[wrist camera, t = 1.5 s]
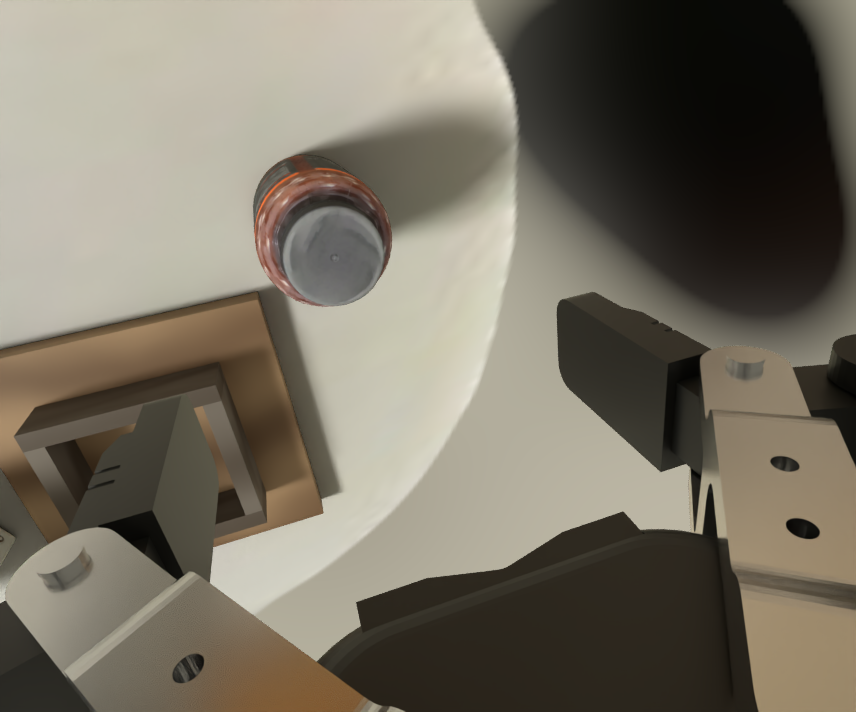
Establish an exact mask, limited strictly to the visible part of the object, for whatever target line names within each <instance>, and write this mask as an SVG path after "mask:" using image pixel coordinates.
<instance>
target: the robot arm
mask: <svg viewBox="0 0 856 712" xmlns="http://www.w3.org/2000/svg"><path fill="white" fill-rule="evenodd" d="M557 333H558V361H559V369H560V373H561V376H562V378H563V381H564V382H565V384H566V386H567V387H568V388H569V389H570V390H571V391H572V392H573V393H574V394H575V395H576V396H577V397H578V398H580V399H581V400H582V401H583V402H584V403H585V404H586V405H587V406H588V407H590V408H591V409H592V410H593V411H594V412H595V413H596V414H597V415H598V416H599V417H601V418H602V419H603V420H604V421H605V422H606V423H607V424H608V425H609V426H610V427H612V428H613V429H614V430H615V431H616V432H617V433H618V434H619V435H620V436H622V437H623V438H624V439H625V440H626V441H627V442H628V443H629V444H630V445H632V446H633V447H634V448H635V449H636V450H637V451H638V452H639V453H640V454H641V455H642V456H644V457H645V458H646V459H647V460H648V461H649V462H650V463H651V464H652V465H654V466H655V467H656V468H657V469H658V470H659V471H660V472H662V471H665V470H668V469H672V468H675V467H678V466H680V465H684V464H687V465H688V466H689V467H690V470H689V480H688V481H689V482H688V489H689V509H690V528H691V529H690V530H691V532H686V531H678V530H665V529H648V530H640V529H638V527H637V526H636V525H635V524H634V523H633V522H632V521H631V519H630V518H629V517H628V516H627V515H626V514H625V513H624V512H620V513H617V514H615V515H612V516H609V517H606V518H603V519H600V520H597V521H594V522H591V523H588V524H585V525H582V526H580V527H576V528H573V529H570V530H568V531H565V532H562V533H561V534H559V535H557V536H556V537H554V538H553V539H551V540H549V541H548V542H546V543H545V544H543V545H541V546H540V547H539V548H537V549H535V550H534V551H532V552H531V553H529V554H527V555H526V556H524V557H523V558H521V559H519V560H518V561H516V562H515V563H513V564H512V565H510V566H508V567H506V568H504V569H500V570H493V571H486V572H477V573H468V574H459V575H451V576H443V577H434V578H426V579H423V580H420V581H418V582H414V583H411V584H409V585H406V586H403V587H400V588H397V589H394V590H391V591H388V592H385V593H382V594H379V595H376V596H373V597H370V598H367V599H364V600H362V601H359V602H356V603H357V609H358V614H359V619H360V623H361V626H360V627H359V628H357V629H356V630H354V631H353V632H351V633H349V634H348V635H347V636H345V637H344V638H343V639H341V640H340V641H339V642H338V643H336V644H335V645H334V646H333V647H332V648H331V649H330V650H328V651H327V652H326V653H325V654H324V655H323V656H322V657H321V658H320V659H319V660H318V661H317V662H316V661H315V660H313V659H312V658H311V657H309V656H308V655H306V654H305V653H304V652H302V651H301V650H300V649H298V648H297V647H296V646H294V645H293V644H292V643H290V642H289V641H288V640H286V639H285V638H283V637H282V636H281V635H279V634H278V633H277V632H275V631H274V630H273V629H271V628H270V627H268V626H267V625H266V624H264V623H263V622H262V621H260V620H259V619H258V618H256V617H255V616H254V615H252V614H251V613H250V612H248V611H247V610H245V609H244V608H243V607H241V606H240V605H239V604H237V603H236V602H235V601H233V600H232V599H230V598H229V597H228V596H226V595H225V594H224V593H222V592H221V591H220V590H218V589H217V588H216V587H214V586H213V585H211V584H210V574H211V564H212V553H213V543H214V533H215V522H216V512H217V502H218V491H219V480H218V473H217V469H216V465H215V461H214V458H213V455H212V453H211V450H210V448H209V445H208V443H207V440H206V438H205V435H204V433H203V430H202V428H201V425H200V423H199V420H198V418H197V415H196V413H195V410H194V408H193V405H192V403H191V401H190V399H189V398H188V396H187V395H186V394H181V395H177V396H173V397H169V398H165V399H161V400H157V401H153V402H149V403H145V404H144V405H143V407H142V409H141V412H140V414H139V417H138V420H137V422H136V425H135V428H134V430H133V432H131V433H127V434H124V435H121V436H120V437H119V438H118V439H117V440H116V441H115V442H114V443H113V444H112V445H111V446H110V447H109V448H108V449H107V450H106V451H105V452H104V453H103V454H102V456H101V458H100V460H99V462H98V465H97V467H96V469H95V471H94V472H95V475H93V476H92V478H91V481H90V483H89V485H88V490H87V491H86V492H85V494H84V496H83V499H82V501H81V503H80V506H79V508H78V510H77V512H76V515H75V517H74V519H73V521H72V524H71V526H70V528H69V531H68V533H67V535H66V536H63V537H61V538H59V539H57V540H55V541H53V542H52V543H50V544H48V545H46V546H45V547H43V548H42V549H40V550H39V551H38V552H36V553H35V554H34V555H32V556H31V557H30V558H29V559H28V560H26V561H25V562H24V563H23V564H22V565H21V566H20V567H19V569H18V570H17V571H16V572H15V573H14V575H13V576H12V578H11V579H10V581H9V583H8V585H7V587H6V592H5V599H6V601H4V602H2V603H0V712H856V334H855V335H849V336H845V337H842V338H840V339H838V340H836V341H835V342H834V344H833V347H832V351H831V356H830V360H829V364H827V365H816V366H803V367H792V366H791V364H790V362H789V361H788V360H787V359H785V358H784V357H782V356H781V355H779V354H777V353H774V352H771V351H769V350H765V349H761V348H756V347H749V346H724V347H718V348H715V349H710V348H708V347H706V346H704V345H702V344H701V343H699V342H697V341H695V340H693V339H691V338H689V337H687V336H686V335H684V334H682V333H680V332H678V331H676V330H674V331H673V330H672V328H670V327H669V326H667V325H665V324H663V323H659V322H658V320H656V319H654V318H652V317H650V316H648V315H646V314H645V313H643V312H639V311H635V310H631V309H627V308H623V307H620V306H619V305H617V304H615V303H613V302H612V301H610V300H608V299H606V298H604V297H602V296H601V295H599V294H597V293H595V292H590V293H586V294H582V295H579V296H574V297H570V298H567V299H562V300H561V301H560V302H559V303H558V306H557Z"/></svg>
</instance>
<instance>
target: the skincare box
mask: <svg viewBox="0 0 856 712" xmlns="http://www.w3.org/2000/svg"><path fill="white" fill-rule="evenodd" d="M15 539H16V538H15V537H14V536H13V535H11V534H10V533H8V532H6V531H5V530H3V529H1V528H0V566H1V564H2V562H3V561H4V559H5V557H6V555H7V553H8V552H9V550H10V548H11V546H12V545H13V543H14V541H15Z"/></svg>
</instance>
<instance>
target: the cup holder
mask: <svg viewBox="0 0 856 712" xmlns="http://www.w3.org/2000/svg"><path fill="white" fill-rule="evenodd" d="M181 394H186V395H187V396H188V398H189V399H190V401H191V403H192V405H193V408H194V410H195V413H196V415H197V418H198V420H199V423H200V425H201V428H202V430H203V433H204V435H205V438H206V440H207V443H208V445H209V448H210V450H211V453H212V455H213V458H214V461H215V465H216V469H217V473H218V480H219V491H218V502H217V512H216V522H215V533H214V543H213V547H216V546H219V545H222V544H226V543H229V542H232V541H235V540H238V539H242V538H245V537H248V536H251V535H255V534H258V533H261V532H264V531H268V530H271V529H274V528H277V527H281V526H284V525H287V524H290V523H294V522H297V521H300V520H303V519H307V518H310V517H313V516H316V515H319V514H323V506H322V500H321V497H320V494H319V490H318V487H317V484H316V480H315V477H314V474H313V471H312V467H311V464H310V461H309V458H308V454H307V451H306V448H305V444H304V441H303V438H302V435H301V431H300V428H299V425H298V422H297V418H296V415H295V412H294V409H293V405H292V402H291V399H290V395H289V392H288V389H287V386H286V382H285V379H284V376H283V373H282V369H281V366H280V363H279V360H278V356H277V353H276V350H275V346H274V343H273V340H272V337H271V333H270V330H269V327H268V324H267V320H266V317H265V314H264V311H263V307H262V304H261V301H260V297H259V294H258V292H253V293H249V294H245V295H240V296H236V297H231V298H227V299H223V300H218V301H214V302H209V303H205V304H201V305H196V306H192V307H187V308H183V309H179V310H174V311H170V312H165V313H161V314H157V315H152V316H148V317H143V318H139V319H135V320H130V321H126V322H121V323H117V324H112V325H108V326H104V327H99V328H95V329H90V330H86V331H82V332H77V333H73V334H68V335H64V336H60V337H55V338H51V339H46V340H42V341H38V342H33V343H29V344H24V345H20V346H16V347H11V348H7V349H2V350H0V468H1V469H2V471H3V473H4V474H5V476H6V477H7V479H8V481H9V482H10V484H11V485H12V487H13V488H14V490H15V492H16V493H17V495H18V496H19V498H20V499H21V501H22V503H23V504H24V506H25V507H26V509H27V511H28V512H29V514H30V515H31V517H32V518H33V520H34V522H35V523H36V525H37V526H38V528H39V530H40V531H41V533H42V534H43V536H44V537H45V539H46V541H47V542H48V544H50V543H52V542H53V541H55V540H57V539H59V538H61V537H63V536H66V535H67V533H68V531H69V528H70V526H71V524H72V521H73V519H74V517H75V515H76V512H77V510H78V508H79V506H80V503H81V501H82V499H83V496H84V494H85V492H86V491H87V490H88V485H89V483H90V481H91V478H92V476H93V475H95V472H94V471H95V469H96V467H97V465H98V462H99V460H100V458H101V456H102V454H103V453H104V452H105V451H106V450H107V449H108V448H109V447H110V446H111V445H112V444H113V443H114V442H115V441H116V440H117V439H118V438H119V437H120V436H121V435H124V434H127V433H131V432H133V430H134V428H135V425H136V422H137V420H138V417H139V414H140V412H141V409H142V407H143V405H144V404H145V403H149V402H153V401H157V400H161V399H165V398H169V397H173V396H177V395H181Z"/></svg>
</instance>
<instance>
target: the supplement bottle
mask: <svg viewBox="0 0 856 712" xmlns="http://www.w3.org/2000/svg"><path fill="white" fill-rule="evenodd" d="M253 213H254V233H255V243H256V250H257V254H258V257H259V260H260V263H261V265H262V267H263V269H264V271H265V273H266V274H267V276H268V277H269V279H270V280H271V281H272V282H273V283H274V284H275V285H276V286H277V287H278V289H279V290H281V291H282V292H283V293H285V294H286V295H288V296H290V297H291V298H293V299H295V300H296V301H299V302H302V303H304V304H309V305H315V306H322V307H328V306H341V305H346V304H349V303H352V302H354V301H356V300H359V299H360V298H362V297H363V296H365V295H366V294H367V293H368V292H369V291H370V290H372V289H373V287H374V286H375V284H376V283H377V281H378V280H379V278H380V277H381V275H382V274H383V272H384V270H385V269H386V266H387V264H388V261H389V258H390V252H391V248H392V233H391V226H390V222H389V219H388V215H387V213H386V211H385V209H384V207H383V205H382V203H381V202H380V200H379V199H378V198H377V196H376V195H375V194H374V193H373V191H372V190H371V189H369V188H368V187H367V186H366V185H365V184H364V183H363V182H361V181H360V180H359V179H357V178H356V177H354V176H353V175H352V174H350V173H349V172H348V171H346V170H345V169H343V168H342V167H340V166H339V165H337V164H336V163H334V162H332V161H330V160H328V159H325V158H323V157H318V156H311V155H299V156H293V157H290V158H286V159H284V160H282V161H280V162H278V163H277V164H275V165H274V166H273V167H272V168H271V169H269V170H268V171H267V172H266V174H265V175H264V176H263V178H262V179H261V181H260V183H259V185H258V188H257V190H256V193H255V197H254V204H253Z"/></svg>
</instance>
